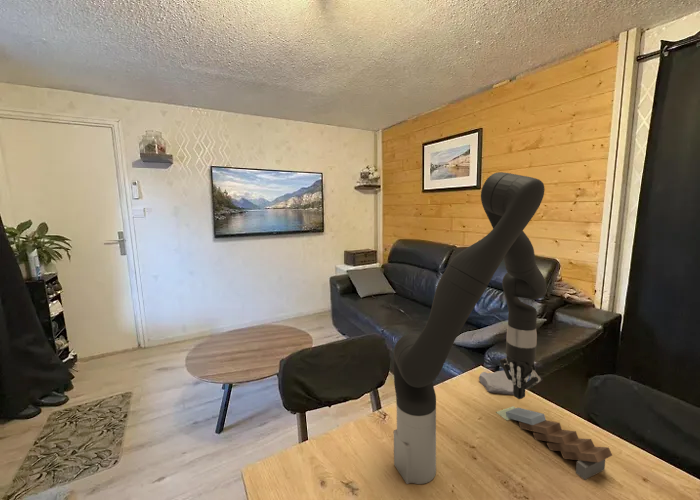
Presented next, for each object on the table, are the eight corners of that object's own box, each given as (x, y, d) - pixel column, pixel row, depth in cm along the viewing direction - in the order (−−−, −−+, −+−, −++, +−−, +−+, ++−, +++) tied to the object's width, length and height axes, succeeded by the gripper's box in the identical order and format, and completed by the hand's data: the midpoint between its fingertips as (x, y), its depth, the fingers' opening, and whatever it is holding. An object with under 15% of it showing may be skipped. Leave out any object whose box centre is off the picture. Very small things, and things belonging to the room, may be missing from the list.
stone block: (525, 399, 105) (509, 377, 114) (526, 387, 103) (511, 367, 113) (489, 402, 105) (477, 380, 114) (490, 390, 103) (478, 369, 112)
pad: (506, 420, 92) (506, 420, 92) (496, 412, 96) (496, 412, 96) (524, 414, 95) (524, 413, 95) (513, 406, 98) (513, 406, 98)
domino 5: (563, 458, 77) (598, 462, 70) (560, 451, 78) (594, 454, 70) (577, 452, 79) (612, 455, 72) (574, 445, 80) (608, 447, 72)
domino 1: (507, 417, 93) (532, 425, 85) (505, 411, 94) (530, 418, 85) (519, 413, 95) (545, 420, 87) (518, 407, 95) (544, 413, 87)
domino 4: (549, 449, 81) (580, 453, 73) (546, 442, 82) (576, 445, 74) (563, 444, 83) (594, 446, 75) (560, 437, 83) (591, 439, 76)
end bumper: (584, 479, 72) (585, 468, 72) (575, 473, 74) (576, 461, 73) (604, 469, 74) (605, 458, 74) (595, 463, 76) (596, 452, 76)
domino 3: (535, 439, 85) (564, 444, 77) (532, 432, 85) (561, 437, 77) (548, 433, 86) (578, 438, 79) (545, 427, 87) (575, 431, 79)
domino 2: (520, 428, 89) (548, 434, 81) (518, 422, 89) (545, 428, 81) (533, 423, 91) (561, 429, 83) (531, 417, 91) (559, 422, 83)
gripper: (552, 348, 84) (549, 407, 87) (511, 330, 97) (509, 382, 99) (532, 353, 82) (529, 414, 84) (492, 334, 94) (491, 388, 97)
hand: (518, 397), depth 92 cm, fingers closed
